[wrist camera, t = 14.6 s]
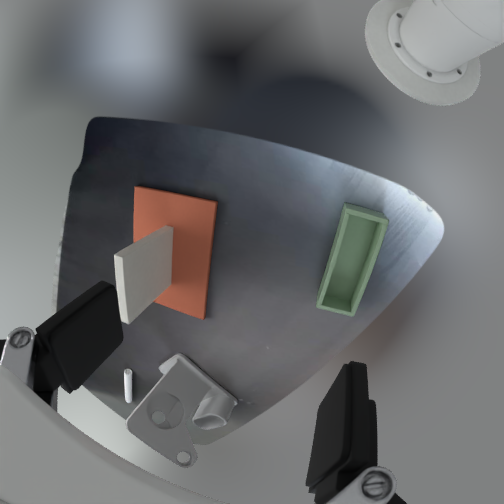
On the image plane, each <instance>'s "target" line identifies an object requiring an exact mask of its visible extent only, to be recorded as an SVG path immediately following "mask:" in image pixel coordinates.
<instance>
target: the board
mask: <svg viewBox="0 0 504 504" xmlns="http://www.w3.org/2000/svg"><path fill="white" fill-rule="evenodd" d="M173 228H174V227H171V226H167V225H166V226H164V227H162V228H160V229H158V230H156V231H155V232H153V233H151V234H149V235H147V236H146V237H144V238H142V239H140V240H138V241H137V242H135V243H133V244H131V245H130V246H128V247H126V248H124V249H123V250H121V251H119V252H118V253H116V254H114V261H115V274H116V284H117V294H118V302H119V310H120V317H121V321H123V322H125V323H127V324H130V323H131V322H132V321H133V320H134V319H135V318H136V317H137V316H138V315H139V314H140V313H141V312H142V311H143V310H144V309H146V308H147V307H148V306H149V305H150V304H151V303H152V302H153V301H154V300H155V299H156V298H157V297H158V296H159V295H160V294H161V293H162V292H164V291H165V290H166V289H167V288H168V287H169V286H170V285H171V274H172V247H173Z"/></svg>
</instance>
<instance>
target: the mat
mask: <svg viewBox="0 0 504 504" xmlns="http://www.w3.org/2000/svg"><path fill="white" fill-rule="evenodd" d="M217 206H218V202H217V201H212V200H208V199H203V198H198V197H193V196H188V195H183V194H178V193H173V192H168V191H163V190H158V189H152V188H147V187H141V186H135V194H134V243H135V242H137V241H138V240H140V239H142V238H144V237H146V236H147V235H149V234H151V233H153V232H155V231H156V230H158V229H160V228H162V227H164V226H166V225H167V226H171V227H174V228H173V247H172V274H171V285H170V286H169V287H168V288H167V289H166V290H165V291H164V292H162V293H161V294H160V295H159V296H158V297H157V298H156V299H155V300H154V302H156V303H159V304H161V305H164V306H167V307H169V308H172V309H175V310H177V311H180V312H183V313H186V314H188V315H191V316H194V317H197V318H200V319H203V320H204V319H205V315H206V304H207V294H208V283H209V274H210V264H211V255H212V246H213V238H214V229H215V221H216V214H217Z"/></svg>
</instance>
